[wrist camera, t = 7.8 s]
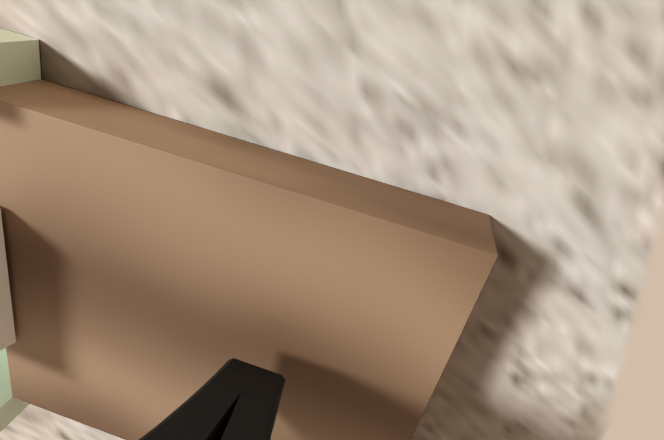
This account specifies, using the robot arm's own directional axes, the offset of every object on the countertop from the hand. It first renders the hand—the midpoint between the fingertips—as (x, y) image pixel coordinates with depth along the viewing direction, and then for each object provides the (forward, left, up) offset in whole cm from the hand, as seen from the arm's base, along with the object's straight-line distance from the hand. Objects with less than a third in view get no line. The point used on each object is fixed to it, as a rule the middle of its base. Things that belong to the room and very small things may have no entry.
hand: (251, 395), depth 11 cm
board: (0, +2, -3) cm, 4 cm away
